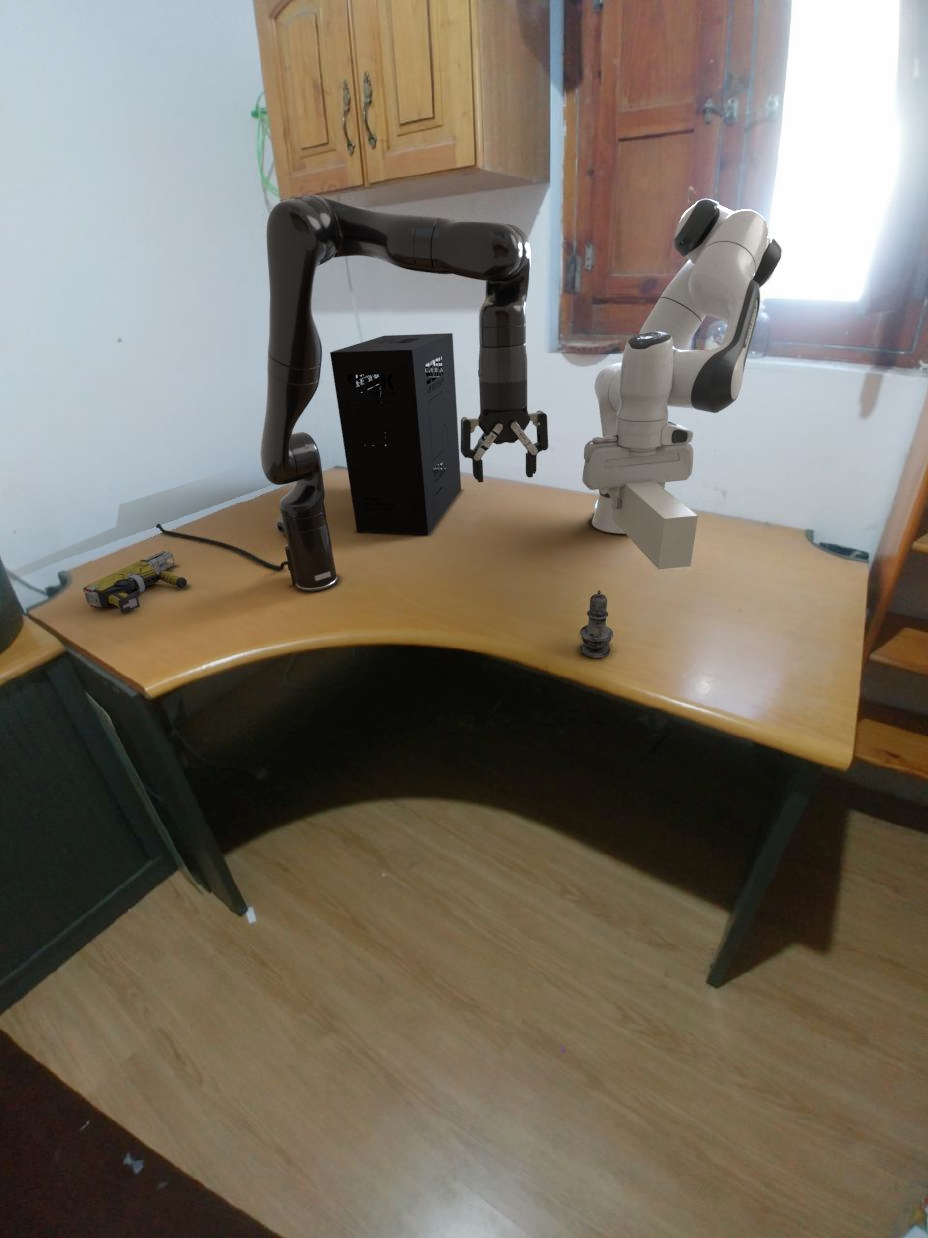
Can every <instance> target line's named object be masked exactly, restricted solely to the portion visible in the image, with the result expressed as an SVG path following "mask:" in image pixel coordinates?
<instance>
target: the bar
mask: <svg viewBox="0 0 928 1238" xmlns="http://www.w3.org/2000/svg"><path fill="white" fill-rule="evenodd" d="M614 493H615V492H614ZM615 495H616V497H617V498H620V499H621V500H622V505H621V509H616V510H613V512H612V519H613V520H614V522H615V523H616V524H617V525H618V526H619V527H620V528H621V529H622V530H623V531H624V532H625V534H624V535H626V536H627V537H628V538H629V539H630V540H631V542H632V543H633V544H634V545H635V546H636V547H637V548H638V550H640V551H641V553H643V555H644V556H645V557H646V558H647V559H648V560H649V561H650V562H651V563H652V565H654V567H655V568H656V569H657V570H667V569H676V568H687V567H691V566H692V558H693V552H694V546H695V539H696V532H697V526H698V520H699V515H698V514H697V513H696V512H694V510H692V509H691V508H689V506H686V505H685V504H684V503H683V502H681V501H680V500H679V499H678V498H676V497H675V496H674V495H673V494H671V493H670V492H669V491H668V490H666V489H665V488H662V487H661V486H660V485H658V484H657V483H656V482H655V481H648V482H638V483H628V484H625V486H624V487H618V491H617V493H615Z"/></svg>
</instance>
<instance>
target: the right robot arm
mask: <svg viewBox="0 0 928 1238" xmlns="http://www.w3.org/2000/svg"><path fill="white" fill-rule="evenodd" d="M673 245H674V246H673V247H674V248H675V250H676V252H677V253H678V254H679V255H680V256H682V257H683V258H686V259H688V261H687V262H686V263H684V264H683V266H682V267H681V268H680V270H679V271H678V272H677V273H676V274H675V276H674V277H673V278H672V280H671V281H670V282H669V284H668V285H667V286H666V288H665V289H664V291H663V292H662V294H661V295H660V297H659V298H658V300H657V301H656V304H655V305H654V307H653V308H652V310H651V311H650V313H649V315H648V316H647V318H646V320H645V321H644V323H643V325H642V327H641V328H640V330H639V333H638V334H636V335H633V336H632V337H630V338H629V339H628V340H627V342H626V343H625V346H624V350H623V354H622V358H621V362H616V363H611V364H609V365H607V366H605V367H603V368H602V369H601V370H600V371H599V372H598V374H597V375H596V378H595V380H594V392H595V395H596V398H597V402H598V409H599V417H600V424H601V433H602V436H596V437H593V438H592V439H590V440H589V441H588V442H587V443H586V444H585V446H584V449H583V460H584V464H583V470H582V477H581V478H582V484H583V485H585V487H586V488H588V490H590V491H597V490H598V492H599V493H598V498H597V500H596V503H595V505H594V509H595V511H594V514H593V517H592V520H591V525H592V526H593V527H594V528H595V529H597V530H599V531H601V532H605V533H611V534H623V535H626V534H625V532H624V531H623V530H622V529H621V528H620V527H619V526H618V525H617V524H616V523H615V522H614V520H613V519H612V512H613V510H616V509H621V505H622V500H621V499H620V498H617V497H616V495H615V493H617V491H618V487H624V486H625V484H628V483H638V482H648V481H655V482H656V483H657V484H658V485H660V486H661V487H662V488H664V489H665V488H666V483H671V482H673V483H674V482H682V481H687V480H688V479H689V478H690V477H691V475H692V474H693V467H694V448H693V446H692V444H691V442H692V441H693V437H694V432H693V431H692V430H691V429H689V428H687V427H685V426H684V425H681V424H678V423H675V422H672V421H669V410H668V407H673V408H681V409H682V408H683V409H692V410H693V409H694V410H697V411H702V412H707V413H712V414H717V413H719V412H721V411H723V410H725V409H727V408H728V407H729V406H731V405H732V404H733V403H735V401H736V400H737V398H738V396H739V395H740V392H741V389H742V385H743V380H744V372H745V367H746V362H747V358H748V354H749V351H750V347H751V343H752V340H753V337H754V332H755V329H756V324H757V321H758V316H759V311H760V305H761V290H760V288H762V287H763V286H764V285H765V284H766V283H768V282H769V281H770V279H771V278H772V277H773V275H774V274H775V272H776V270H777V268H778V266H779V263H780V261H781V259H782V251H783V250H782V247H781V246H780V244H779V243H778V242H777V240H776V239H775V238H774V237H772V236H770V237H769V226H768V223H767V221H766V219H765V218H764V217H763V215H761V214H760V213H759V212H757V211H755V210H752V209H740V210H736V211H733V210H731V209H728V208H727V207H724V206H722V205H720V202H718V201H716V200H713V199H709V198H703V199H700V200H698V201H696V202H695V204H693V205H692V206H691V207H689V208H688V209H687V210H686V211H685V212H684V213H683V214H682V216H681V218H680V220H679V222H678V224H677V227H676V230H675V235H674V237H673ZM707 316H709V317H712V318H715V319H719V320H721V321H723V322H726V323H727V324H726V325H727V326H726V329H725V332H724V336H723V339H722V343H721V345H720V346H718V347H715V348H712V349H686V348H687V347H688V345H689V344H690V342H691V340H692V339H693V338H694V336H695V334H696V332H697V331H698V329H700V326H701V325H702V323H703V322H704V320H705V319H706V317H707ZM614 492H615V493H614Z"/></svg>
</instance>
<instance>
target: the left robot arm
mask: <svg viewBox="0 0 928 1238" xmlns="http://www.w3.org/2000/svg"><path fill="white" fill-rule="evenodd" d="M265 231H266V235H265V236H266V238H265V239H266V255H267V268H268V269H267V270H268V283H269V284H268V287H269V309H268V310H269V315H268V317H269V318H268V320H269V321H268V342H267V360H266V361H267V362H266V363H267V364H266V365H267V367H266V371H267V372H266V373H267V375H266V376H267V377H266V378H267V379H266V381H267V382H266V402H265V403H266V405H265V414H264V422H263V428H262V435H261V440H260V441H261V443H260V464H261V468H262V472H263V473H264V476H265V478H266V479H267V481H269V482H270V483H271V484H273V485H277V486H283V485H288V484H293V483H295V484H294V486H293V487H292V488H291V490H289V492H288V493H287V494H285V495H284V496H283V497H282V498H281V499H280V501H279V511H280V514H281V515H282V520H283V525H284V529H285V534H284V535H285V539H286V543H287V545H285V547H284V552H285V556H286V560H285V561H282V562H281V563H280V565H275V564H273V563H270V562H268V561H266V560H263V559H262V558H259V557H257V556H256V555H254V554H252V553H251V552H249V551H246V550H243V549H241V548H239V547H238V546H237V547H236V546H235V545H231V544H229V543H226V542H222V541H218V540H214V539H211V538H210V539H209V538H205V537H201V536H195V535H190V534H187V533H180V532H175V531H170V530H167V529H164V527H162V524H160V523H157V524H156V528H155V529H159V531H161V532H162V533H164V534H167V535H171V536H176V537H180V538H186V539H191V540H196V541H200V542H203V543H204V542H205V543H209V544H213V545H217V546H222V547H225V548H227V549H230V550H233V551H236V552H238V553H240V554H243V555H245V556H247V557H249V558H251V559H252V560H254V561H256V562H258V563H260V564H262V565H264V566H266V567H268V568H270V569H273V570H278V571H282V570H283V569H284V568H285V566H287V569H288V571H289V574H290V578H291V583H292V586H294V587H296V589H298V590H300V591H303V592H311V593H312V592H319V591H323V590H324V591H325V590H327V589H330V588H332V587H334V585H336V584H337V583H338V581H339V580H338V575H337V569H336V564H335V558H334V553H333V547H332V541H331V535H330V530H329V524H328V519H327V513H326V512H327V511H326V507H325V499H326V493H325V485H324V478H323V477H324V476H323V467H322V466H323V465H322V459H321V455H320V451H319V447H318V445H317V443H316V441H315V439H314V438H313V437H312V435H310V434H309V433H308V432H305V431H304V432H303V431H300V432H299V431H298V432H295V433H293V431H294V429H295V426H296V424H297V422H298V420H299V419H300V417H301V416H302V414H304V412H305V410H306V408H307V407H308V406H309V404H310V403H311V401H312V399H313V398H314V396H315V394H316V392H317V391H318V388H319V385H320V378H321V371H322V369H321V368H322V361H323V345H322V341H321V336H320V333H319V331H318V328H317V324H316V323H315V320H314V316H313V310H312V299H313V290H314V288H313V287H314V282H315V276H316V271H317V268H318V267H319V266H321V265H323V264H325V263H327V262H329V261H331V260H332V259H335V258H342V257H367V258H374V259H378V260H380V261H383V262H384V263H387V264H390V265H393V266H395V267H397V268H400V269H404V270H409V271H412V272H418V273H419V272H420V273H426V274H427V273H429V274H434V275H435V274H436V275H454V276H459V277H463V278H467V279H472V280H477V281H484V282H485V291H484V292H485V293H484V295H485V296H484V301H483V303H482V305H481V306H480V308H479V312H478V337H479V338H478V339H479V353H478V370H477V376H478V386H479V387H478V388H479V416H478V417H477V418H468V417H467V416H462V417H461V419H460V453H461V455H462V456H463V457H464V458H465V459H471V461H472V462H471V463H472V475H473V478H474V479H475V480H477V482H478V483H484V465H483V464H484V461H483V456H484V455H485V454H486V452H487V451H488V450H489V449H490V448H491V447H492V444H495V445H502V444H505V443H508V444H514V443H516V442H517V441H519V442H520V443H521V445H522V446H523V447H524V448H525V449H526V452H525V476H526V477H527V478H534V474H536V473H537V461H538V460H537V458H538V457H537V456H538V454H539V453H540V452H542V451H547V450H548V449H549V431H548V414H546V413H545V412H544V411H542V410H537V411H536V412H533V413H529V411H528V355H527V354H528V353H527V344H526V343H527V321H526V320H527V319H526V305H527V300H528V294H529V293H528V292H529V286H530V285H529V284H530V277H531V265H532V263H531V262H532V259H531V258H532V257H531V256H532V255H531V246H530V242H529V239H528V237H527V235H526V234H525V232H524V231H523V230H522V229H521V228H520V227H519V226H516V225H515V224H510V223H509V224H508V223H502V222H490V221H458V220H455V219H451V218H447V217H441V216H440V217H439V216H428V215H419V214H407V213H392V212H384V211H383V212H382V211H381V212H380V211H376V210H370V209H365V208H361V207H356V206H353V205H349V204H346V203H344V202H341V201H337V200H334V199H330V198H328V197H324V196H321V195H317V194H313V193H305V194H301V195H297V196H294V197H291V198H287V199H284V200H282V201H279V202H278V203H276V204H275V205H274V206H273V207H272V209H271V211H270V212H269V215H268V217H267V222H266V230H265ZM530 422H532V425H533V426H535V428H536V429H535V430H536V442H535V443H533V441H532V440H531V439H530V438H529V436H528V435H527V434H526V432H525V430H526V429H527V427H528V426H529V424H530ZM476 427H479V428H480V430H481V431H482V433H481V435H480V437H479V438H478V440H477V443H476V445H475V446H474V447H473V449H472V448H471V443H472V442H471V440H472V439H471V437H472V436H471V435H472V434H473V433H474V432H475V431H476Z"/></svg>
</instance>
